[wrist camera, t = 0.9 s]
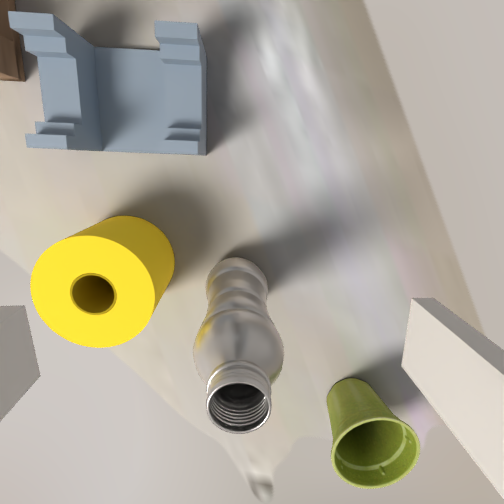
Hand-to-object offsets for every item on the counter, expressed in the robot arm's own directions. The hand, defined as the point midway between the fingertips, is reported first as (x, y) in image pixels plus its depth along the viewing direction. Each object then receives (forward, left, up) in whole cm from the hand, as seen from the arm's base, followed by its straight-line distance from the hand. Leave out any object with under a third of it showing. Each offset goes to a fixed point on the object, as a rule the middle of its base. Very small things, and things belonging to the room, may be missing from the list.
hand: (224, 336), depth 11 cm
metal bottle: (+7, +1, -25) cm, 26 cm away
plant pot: (+23, +16, -25) cm, 38 cm away
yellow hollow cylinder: (+5, -11, -25) cm, 28 cm away
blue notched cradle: (-11, -9, -25) cm, 29 cm away
